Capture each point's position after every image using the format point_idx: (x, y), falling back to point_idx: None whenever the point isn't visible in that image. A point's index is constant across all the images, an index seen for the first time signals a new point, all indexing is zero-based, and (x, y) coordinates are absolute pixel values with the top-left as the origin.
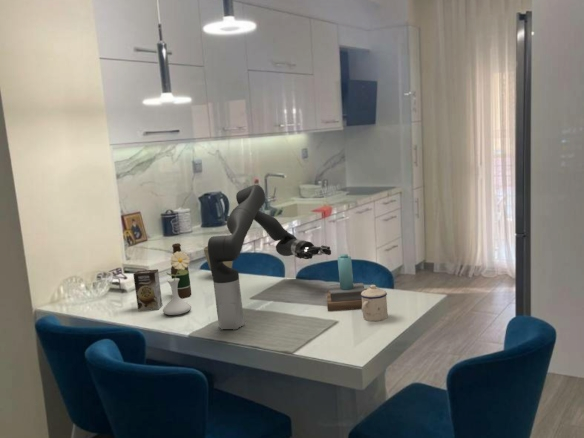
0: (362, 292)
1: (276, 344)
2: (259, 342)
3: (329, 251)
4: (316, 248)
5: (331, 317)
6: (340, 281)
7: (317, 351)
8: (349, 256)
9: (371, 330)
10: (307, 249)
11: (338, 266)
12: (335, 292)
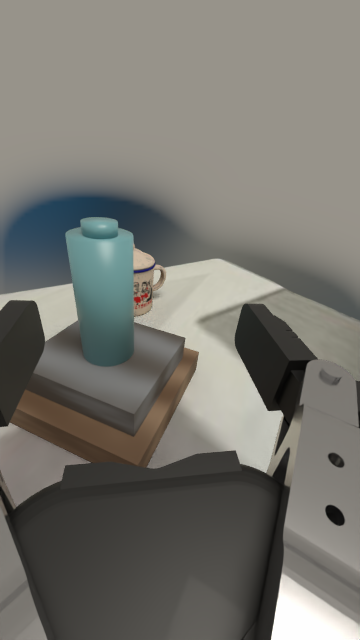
0: (148, 261)
1: (311, 307)
2: (344, 321)
3: (32, 312)
4: (8, 546)
5: (202, 338)
6: (133, 325)
7: (254, 281)
8: (70, 232)
9: (167, 285)
10: (300, 422)
11: (132, 275)
12: (166, 338)
